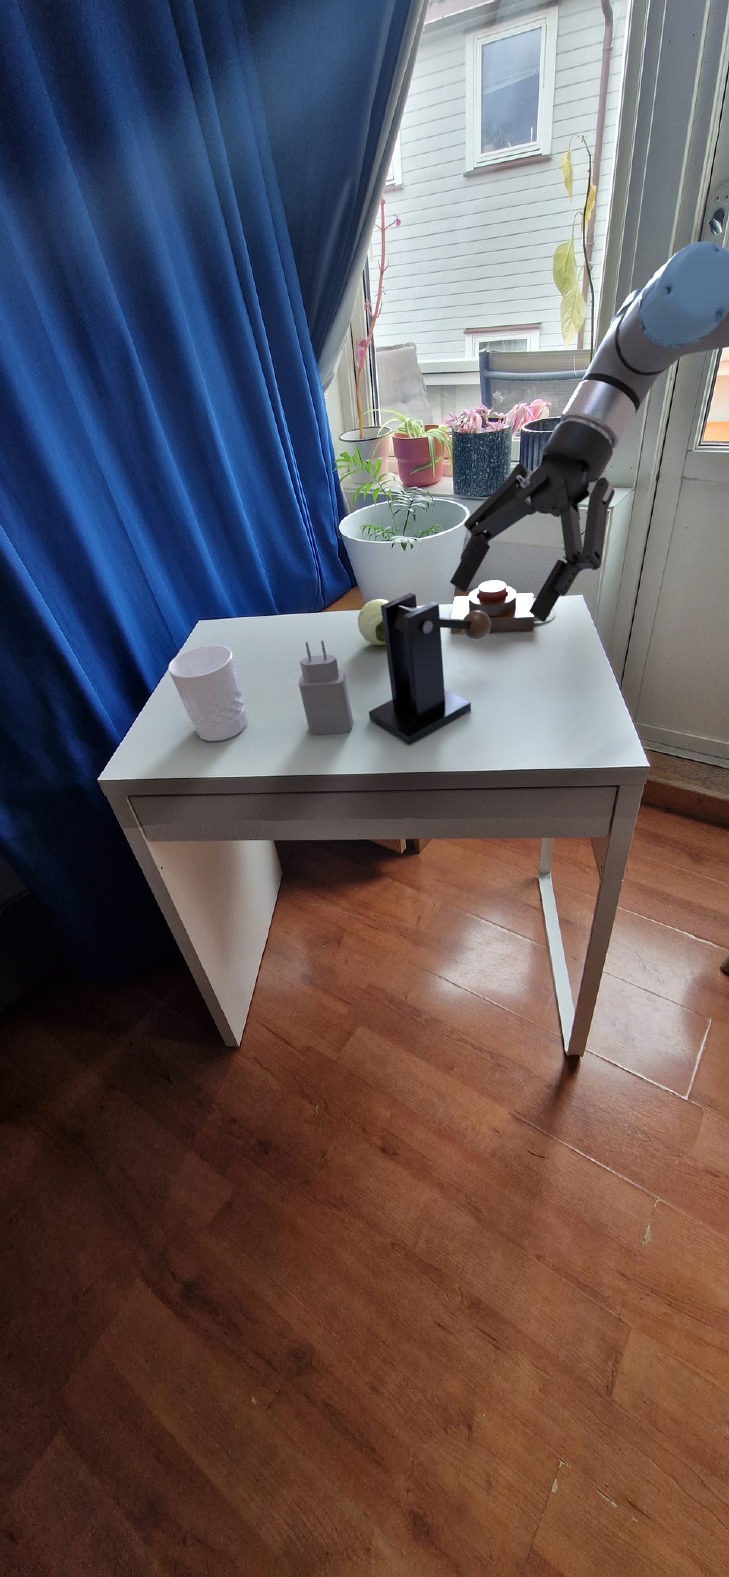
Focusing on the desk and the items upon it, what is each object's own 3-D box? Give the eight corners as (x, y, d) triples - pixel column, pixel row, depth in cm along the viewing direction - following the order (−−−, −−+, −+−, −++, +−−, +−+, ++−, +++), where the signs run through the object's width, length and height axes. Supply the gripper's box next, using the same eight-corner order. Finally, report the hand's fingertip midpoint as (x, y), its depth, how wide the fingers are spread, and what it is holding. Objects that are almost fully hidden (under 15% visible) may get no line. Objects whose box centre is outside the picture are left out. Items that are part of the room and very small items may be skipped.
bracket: (429, 687, 87) (420, 580, 77) (471, 710, 81) (467, 598, 72) (369, 719, 83) (352, 610, 73) (409, 745, 77) (396, 631, 68)
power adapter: (312, 721, 84) (293, 637, 77) (353, 718, 83) (338, 633, 76) (308, 735, 82) (289, 649, 74) (351, 732, 81) (335, 645, 73)
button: (506, 591, 98) (506, 579, 97) (505, 602, 95) (505, 591, 94) (479, 592, 99) (479, 581, 98) (478, 604, 96) (477, 592, 95)
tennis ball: (359, 636, 101) (353, 595, 96) (402, 629, 101) (398, 588, 96) (362, 655, 96) (356, 613, 92) (407, 649, 96) (403, 606, 91)
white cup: (257, 708, 88) (238, 642, 82) (243, 743, 82) (222, 674, 76) (202, 712, 90) (179, 646, 83) (185, 746, 84) (159, 679, 77)
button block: (533, 606, 101) (533, 581, 98) (533, 630, 95) (534, 605, 92) (455, 609, 103) (453, 585, 101) (450, 633, 97) (449, 608, 95)
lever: (471, 635, 84) (480, 607, 82) (492, 644, 81) (500, 615, 80) (388, 630, 75) (395, 598, 73) (407, 639, 72) (415, 607, 71)
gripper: (693, 468, 71) (589, 644, 75) (522, 444, 88) (445, 588, 92) (671, 426, 66) (560, 618, 70) (494, 409, 82) (412, 564, 86)
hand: (494, 601), depth 81 cm, fingers open, 13 cm apart
